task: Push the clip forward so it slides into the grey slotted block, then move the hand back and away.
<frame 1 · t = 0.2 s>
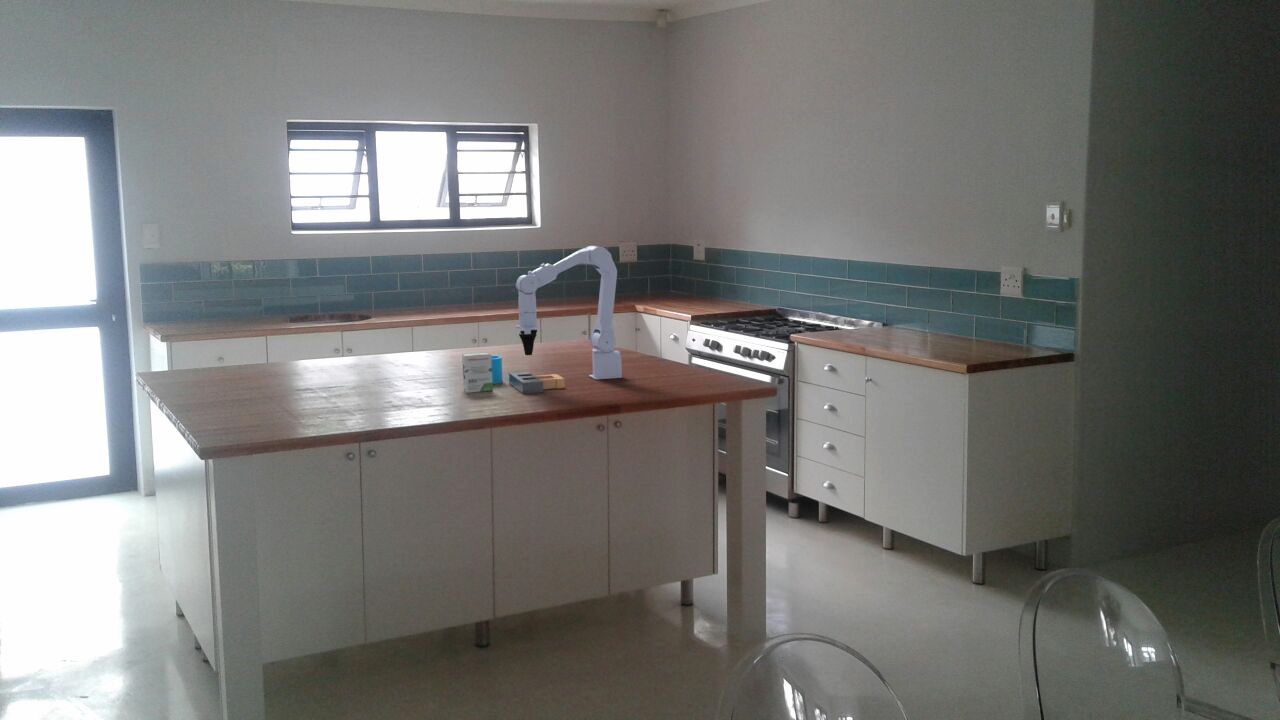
hand: (529, 353, 370), 10 cm above the table, fingers open, 7 cm apart
ink box: (478, 391, 359), on the table
clip: (556, 385, 366), on the table
grey slotted block: (525, 387, 363), on the table
blue cylinder: (489, 381, 377), on the table
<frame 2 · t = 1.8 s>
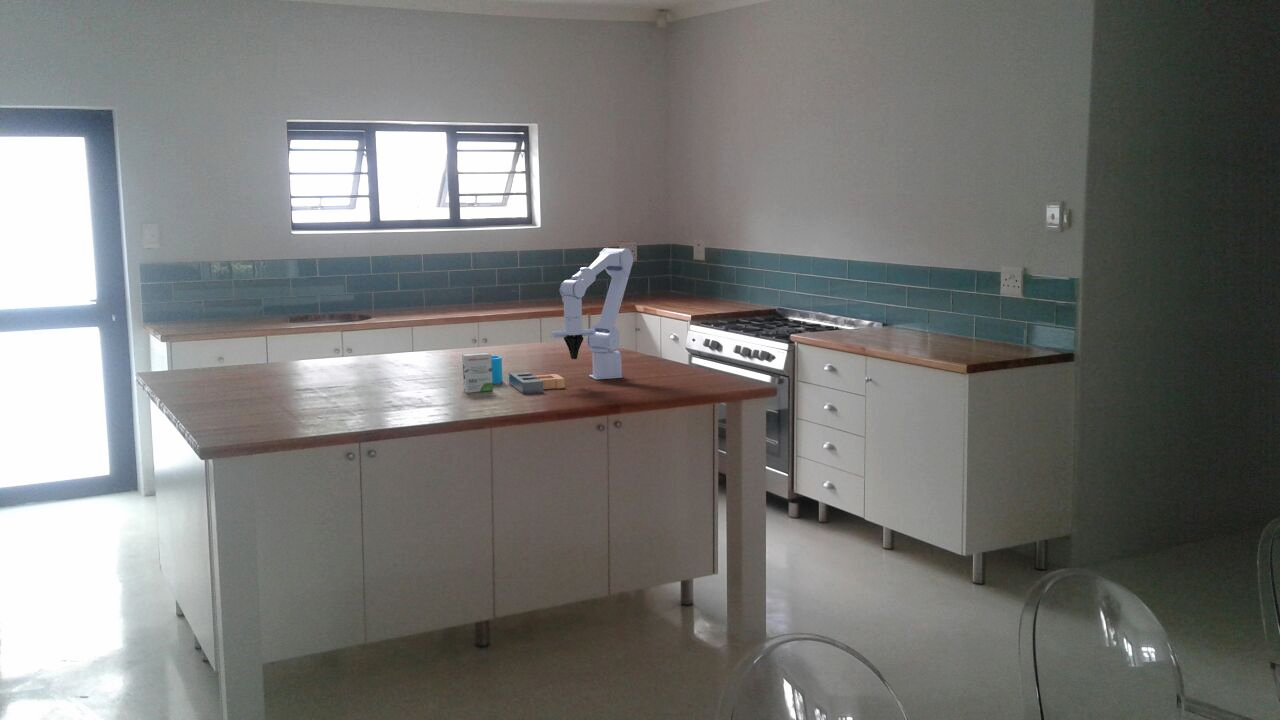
hand: (574, 358, 367), 8 cm above the table, fingers closed
nothing on the table moved.
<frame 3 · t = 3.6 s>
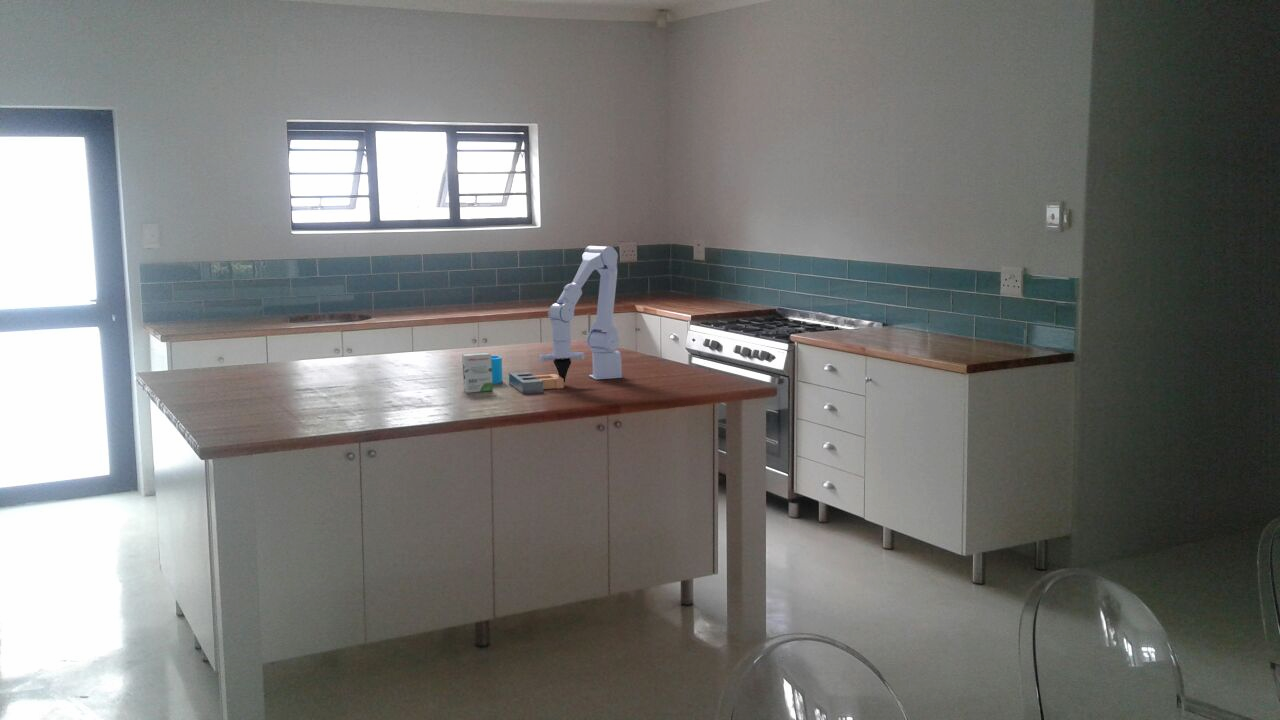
hand: (562, 382, 366), 1 cm above the table, fingers closed
clip: (556, 385, 366), on the table, touching gripper
everything else where it was.
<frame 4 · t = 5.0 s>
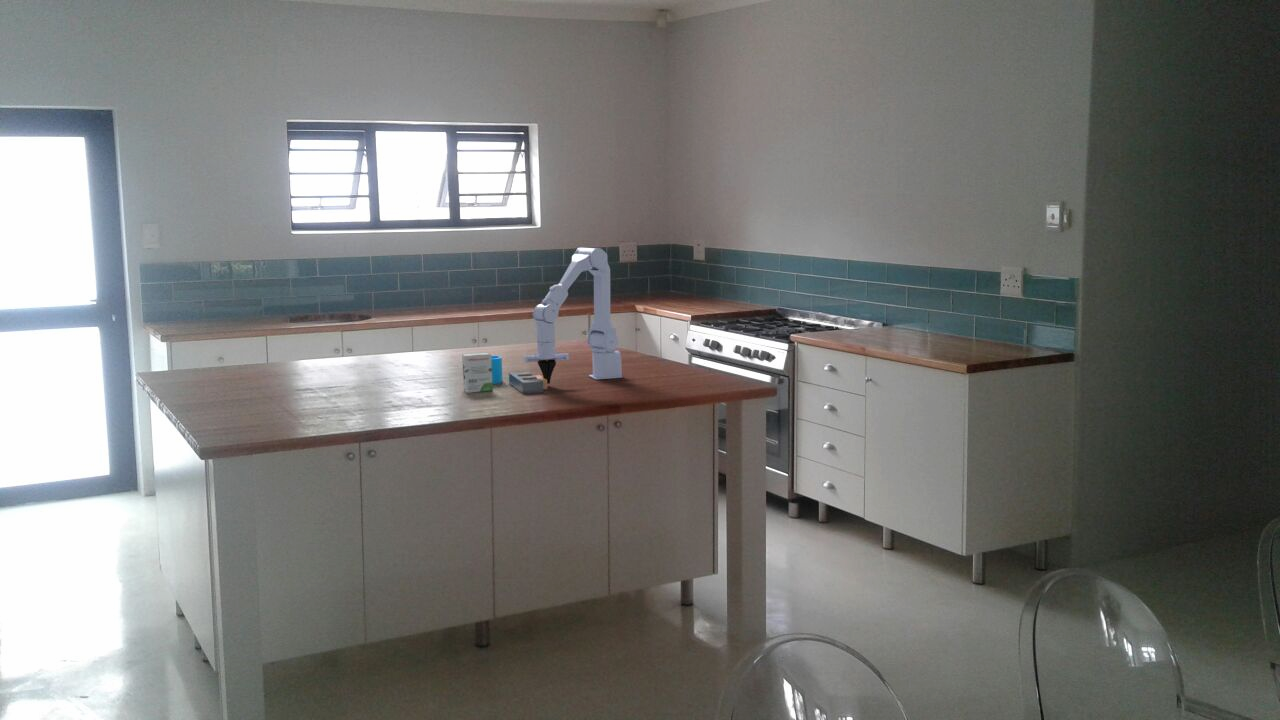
hand: (547, 383, 365), 1 cm above the table, fingers closed
clip: (539, 386, 364), resting in grey slotted block, touching gripper
everything else where it was.
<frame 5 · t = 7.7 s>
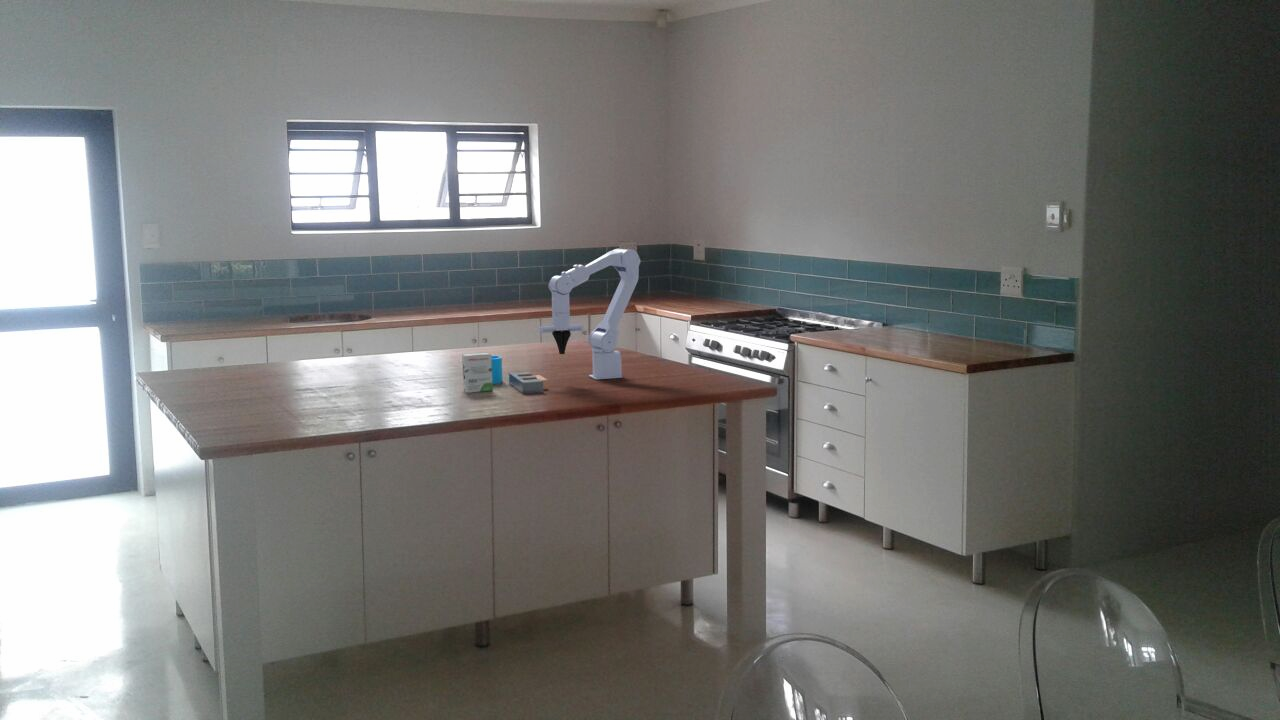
hand: (561, 353, 371), 9 cm above the table, fingers closed
clip: (539, 386, 364), resting in grey slotted block
everything else where it was.
at the end: clip 0.1 cm from the target spot, resting in grey slotted block; clip moved 5.6 cm from its start; the gripper is holding nothing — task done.
